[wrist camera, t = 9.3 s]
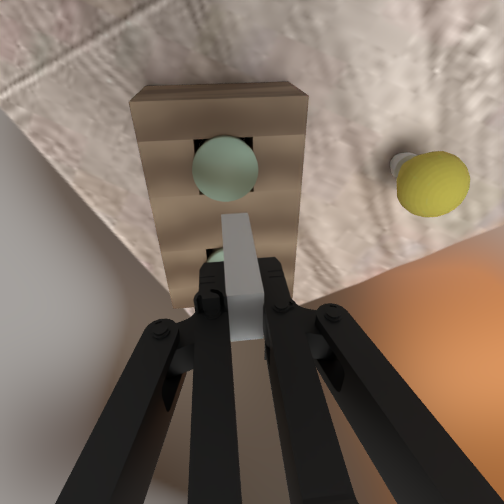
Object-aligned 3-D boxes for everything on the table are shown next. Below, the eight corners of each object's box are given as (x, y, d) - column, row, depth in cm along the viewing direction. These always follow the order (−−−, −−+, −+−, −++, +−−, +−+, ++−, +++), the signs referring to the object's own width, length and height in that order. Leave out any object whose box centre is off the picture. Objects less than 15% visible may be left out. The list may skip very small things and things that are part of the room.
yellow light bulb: (361, 163, 38) (403, 201, 30) (410, 120, 36) (470, 148, 28) (389, 198, 41) (434, 241, 33) (436, 160, 39) (497, 196, 31)
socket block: (145, 86, 31) (128, 101, 24) (288, 81, 32) (308, 95, 26) (178, 266, 44) (173, 308, 37) (280, 258, 45) (292, 298, 38)
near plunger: (192, 116, 32) (188, 139, 26) (248, 114, 32) (258, 136, 26) (198, 170, 35) (196, 203, 29) (249, 168, 36) (258, 199, 29)
